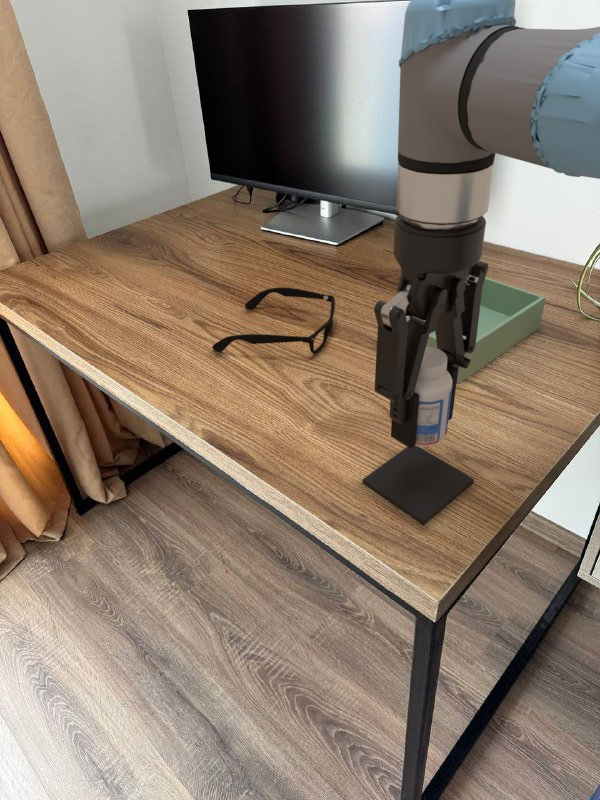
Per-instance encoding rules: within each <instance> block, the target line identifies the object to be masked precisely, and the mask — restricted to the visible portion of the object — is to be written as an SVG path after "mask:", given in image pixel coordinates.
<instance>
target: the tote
mask: <svg viewBox="0 0 600 800" xmlns="http://www.w3.org/2000/svg"><path fill="white" fill-rule="evenodd" d="M546 299H547V296H544V295H541V294H538V293H534V292H532V291H529V290H526V289H523V288H520V287H517V286H514V285H511V284H507V283H505V282H501V281H498V280H496V279H494V278H493V279H492V278H490V277H487V276H486V277H485V280H484V283H483V287H482V295H481V304H480V312H479V321H478V329H477V338H476V346H475V349H474V351H473V352H472V353H471V354H470V353H466V354H465V355H464V356H465V357H466V358H468V359H470V360H471V362H470V364H469V366H468V367H467V368H466V369H464V368H462V367H460V366H459V371H458V379H457V384H460V383H462V382H463V381H465V380H466V379H468V378H469V377H471V376H472V375H474V374H475V373H476V372H478V371H480V370H481V369H482V368H484V367H486V366H487V365H488V364H489V363H491V362H492V361H494V360H495V359H497V358H498V357H500V356H501V355H503V354H504V353H505V352H507V351H508V350H510V349H512V348H513V347H514V346H515V345H517V344H519V343H520V342H521V341H523V340H525V339H526V338H527V337H528V336H530V335H532V334H533V333H534V332H536V331H537V330H539V329H540V327H541V323H542V317H543V313H544V309H545V304H546ZM413 317H414V316H413ZM415 318H417V317H415ZM418 319H419V318H418ZM420 320H421V319H420ZM422 321H425V320H422ZM463 338H464V339H466V337H465V336H463ZM426 346H427V347H434V348H437V341H436V334H435V331H434V332H432V333H430V334H429V337H428V341H427V345H426Z"/></svg>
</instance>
